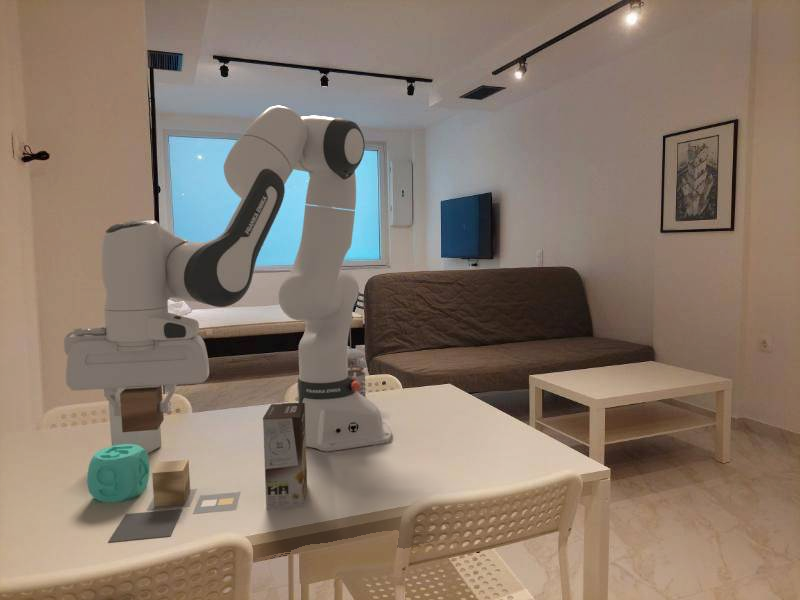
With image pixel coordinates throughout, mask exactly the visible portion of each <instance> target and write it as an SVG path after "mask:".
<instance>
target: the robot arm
mask: <svg viewBox="0 0 800 600" xmlns="http://www.w3.org/2000/svg"><path fill="white" fill-rule="evenodd" d="M365 147H366V145H365V137H364V135H363V132H362V130H361V128H360V127H359V125H358V124H357V122H355V121H352V120H350V119H346V118H344V117H336V118H334V117H329V116H322V115H321V116H320V115H309V116H301V115H300V114H298V113H297V112H296V111H295V110H293V109H292V108H289V107H287V106H282V105H274V106H271V107H268V108H267V109H265V110H264V111H263V112H262V113H261V114H259V115H258V116H257V117H256V118H255V119H254V120H253V121H252V122H251V123H250V124H249V125H248V126H247V127H246V129H244V131H243V132H242V134H241V135H240V136H239V138H238V139H237V140H236V142H235V143H234V145H232V147H231V149H230V150H229V153H227V156H226V159H225V161H224V164H223V173H224V174H223V175H224V177H225V181H226V182H227V184H228V186H229V188H230V189H231V190H232V191H233V192H234V194H236V195H237V196H238V197H239V198H240V201H239V204H238V205H237V207H236V209H235V211H234V213H233V215H232V217H231V218H230V220H229V222H228V224H227V225H226V228H225V229H224V231H223V232H222V233H221V234H220V235H219V236H217V237H214V238H213V239H211V240H208V241H205V242H204V241H200V242H199V241H195V242H194V241H189V240H187V239H185V238H183V237H179V236H178V235H176V234H173V233H171V232H169V231H168V230H167V229H165V228H164V227H163V226H161V225H160V223H159V222H158V221H157V220H154V219H153V220H152V219H140V220H135V221H134V220H132V221H131V220H130V221H126V222H120V223H119V222H118V223H116V224H114V225H112V226H110V227H109V228H107V229H106V230H105V233H104V235H103V240H102V247H101V248H102V249H101V273H102V283H103V285H104V287H105V291H106V292H105V293H106V297H105V298H106V299H105V302H104V306H103V307H104V324H105V327H92V328H84V327H83V328H76V329H74V330H73V331H70V332H69V333H67V334H66V336H65V337H64V340H63V345H64V346H63V348H64V353H65V355H66V356H67V360H66V367H65V368H66V369H65V383H66V386H67V387H68V388H69V389H70V390H71V391H89V390H103V391H104V397H105V399H106V400H107V401H108V403H109V402H110V404H111V405H112V406H113V411H114V416H121V404H120V400H119V399H118V398H117V396H116V395H115V393H116V392H117V391H118V388H128V387H145V386H162V387H163V386H164V392H166V393H167V392H168V394H167V395H166V397H165V399H163V400H160V401H159V402H158V408H159V410H158V412H159V413H163V414H169V413H170V411H171V399H172V397H173V396H174V394H175V393H176V391H177V388H178V385H190V384H193V385H194V384H204V383H205V381H206V380H207V379H208V378H209V375H210V363H209V362H210V361H209V356H208V351H207V346H206V343H205V341H204V339H203V338H202V336H200V335H198V333H199V331H200V323H199V321H198V320H197V319H194V318H191V317H187V316H184V315H183V316H182V315H178V314H175V313H171V312H169V307H168V302H169V299H176V300H181V301H187V302H195V303H202V304H205V305H208V306H212V307H216V308H225V307H230V306H233V305H235V304H236V303H238V302H240V300H242V299H243V297H244V296H245V295H246V294H247V292H248V290H249V288H250V287H251V283H252V280H253V277H254V272H255V271H254V270H255V266H256V263H257V259H258V256H259V255H260V254H259V253H260V252H261V249H262V247H263V246H264V243H265V241H266V238H267V236H268V235H269V232H270V230H271V229H272V226H273V224H274V222H275V220H276V218H277V215H278V213H279V211H280V209H281V206H282V204H283V201H284V197H285V191H286V190H285V189H286V187H285V185H286V183H287V181H288V179H290V176H291V174H292V173H293V171H294V170H295V171H301V172H306V173H307V174H308V175H309V179H308V184H307V190H306V196H305V202H304V212H303V213H304V214H303V223H302V232H301V238H300V242H299V243H300V244H299V247H298V251H297V253H296V256H295V259H294V262H293V265H292V267H291V270H290V272H289V275H288V276H287V277H286V279H285V280H284V281H283V283H282V284H281V286H280V287H279V291H278V304H279V306H280V308H281V310H282V312H283V313H284V314H285V315H286V316H287V317H289V318H290V319H292V320H296V321H301V322H306V325H305V329H304V333H303V335H302V337H301V339H300V340H299V344H298V367H299V368H298V369H299V370H298V371H299V373H298V374H299V377H298V379H297V384H296V387H297V388H296V389H297V390H296V391H297V401H298V402H297V403H305V429H306V448H307V447H308V448H314V449H317V450H319V451H321V452H333V451H340V450H341V451H342V450H347V449H354V448H361V447H367V446H373V445H379V444H380V445H381V444H386V443H389V442H390V441H391V440H392V439H393V432H392V428H391V427H390V425H389V424H387V422H384V421H383V420H382V415H381V412H380V410H379V408H378V406H377V405H376V404H375V403H374V402H372V401H371V400H370V399H368V398H365V397H364V396H362V395H361V394H359V393H358V392H357V391H358V390H359V389H360V387H361V386H360V383H359V382H358V381H357V380H356V379H355V378H354V377H355V376H354V377H353V376H352V377H351V376H349V375H348V366H349V365H348V362H349V361H348V360H349V359H348V355H347V349H348V343H349V336H350V327H351V322H352V319H351V318H352V316H353V312H354V307H355V304H356V303H357V300H358V299H359V295H360V287H359V284H358V281H357V280H356V279H357V278H355V276H354V275H352V274H351V272H348V271H345V270H343V269H341V268H342V266H343V263H344V259H345V257H346V255H347V254H348V252H349V250H350V249H351V246H352V242H353V232H354V223H355V216H356V215H355V213H356V205H357V179H356V178H357V177H356V170H357V169H358V167H359V166H360V165H361V162H362V160H363V157H364V155H365V154H364V153H365Z"/></svg>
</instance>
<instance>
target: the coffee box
mask: <svg viewBox="0 0 800 600" xmlns="http://www.w3.org/2000/svg"><path fill="white" fill-rule="evenodd" d="M262 423H263V424H262V427H263V451H264V453H263V455H264V478H265V481H264V483H265V509H266V510H278V509H294V508H295V509H296V508H302V507H303V506H304V502H305V496H306V492H307V489H308V488H307V487H308V471H307V470H308V468H307V446H306V429H305V403H299V402H287V403H283V402H282V403H271V404H270V406H269V407H268V409H267V410H266V412H265V414H264V415H263V417H262Z"/></svg>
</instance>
